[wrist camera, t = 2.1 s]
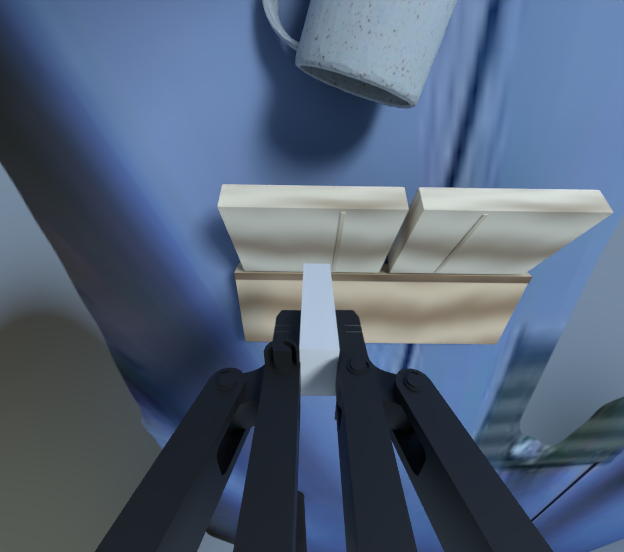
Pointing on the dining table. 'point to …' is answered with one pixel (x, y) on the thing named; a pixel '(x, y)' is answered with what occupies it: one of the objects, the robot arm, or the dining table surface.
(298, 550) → the drinking cup
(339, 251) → the plank
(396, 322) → the laid board
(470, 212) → the plank
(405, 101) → the ceramic mug
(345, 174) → the dining table surface
